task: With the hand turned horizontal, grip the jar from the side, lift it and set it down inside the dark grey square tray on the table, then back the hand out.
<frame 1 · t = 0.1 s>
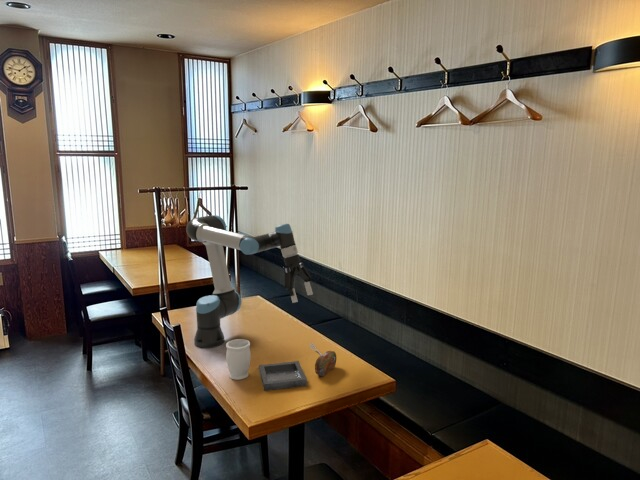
hand: (303, 298, 220), 28 cm above the table, tool tilted 20°, fingers open, 13 cm apart
jar: (239, 376, 201), on the table
tin: (325, 372, 206), on the table
fork: (320, 355, 223), on the table
dark grey square tray: (282, 378, 199), on the table
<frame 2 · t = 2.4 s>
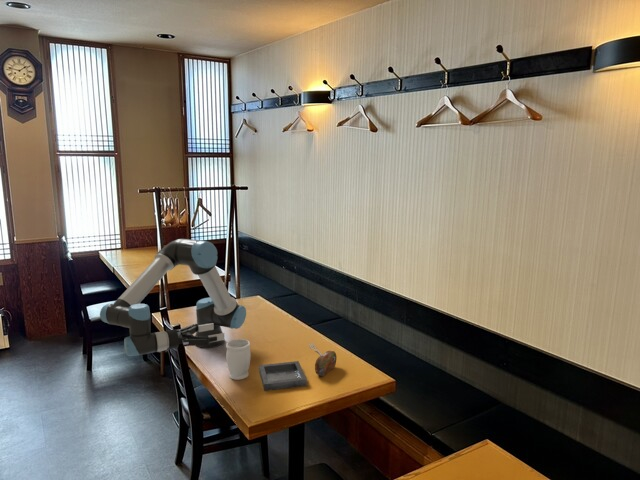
hand: (218, 331, 193), 22 cm above the table, tool horizontal, fingers open, 13 cm apart
nothing on the table moved.
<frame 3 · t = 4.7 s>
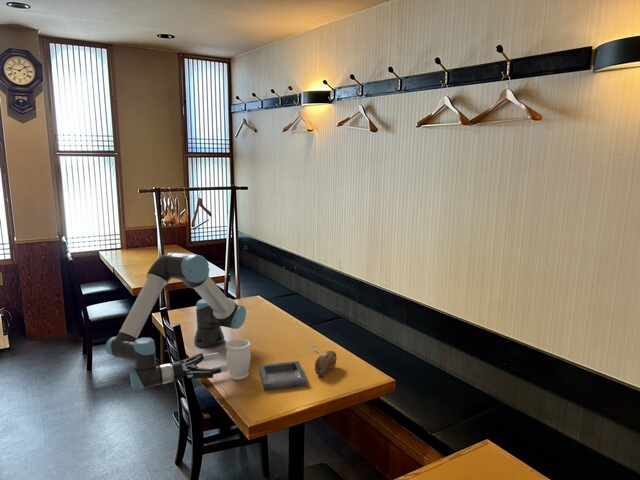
hand: (223, 361, 196), 8 cm above the table, tool horizontal, fingers open, 13 cm apart
nothing on the table moved.
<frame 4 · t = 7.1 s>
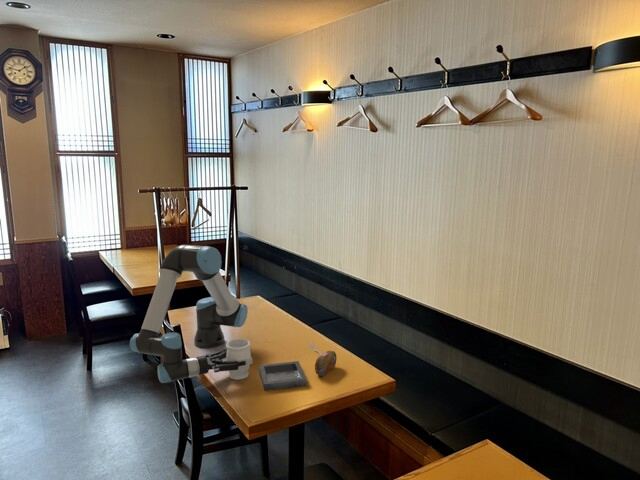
hand: (247, 355, 202), 9 cm above the table, tool horizontal, fingers closed on jar, 10 cm apart
jar: (239, 376, 201), on the table, touching gripper
everything else where it was.
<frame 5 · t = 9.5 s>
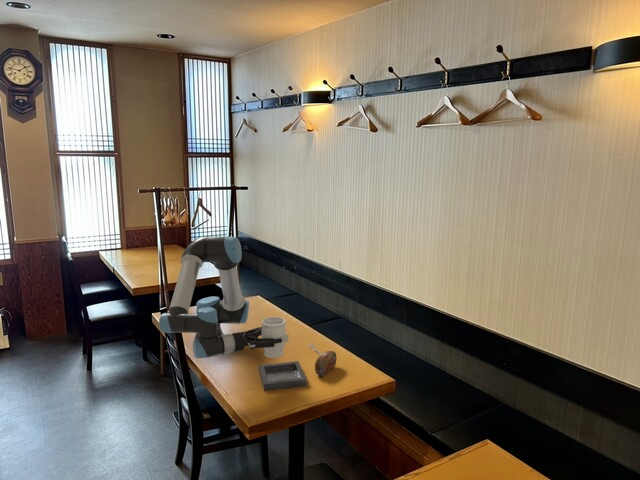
hand: (282, 333, 196), 20 cm above the table, tool horizontal, fingers closed on jar, 10 cm apart
jar: (273, 354, 196), point 11 cm above the table, touching gripper
everything else where it was.
when the fingers open (11 cm above the table, at t = 12.1 s): jar drops 1 cm, resting on dark grey square tray.
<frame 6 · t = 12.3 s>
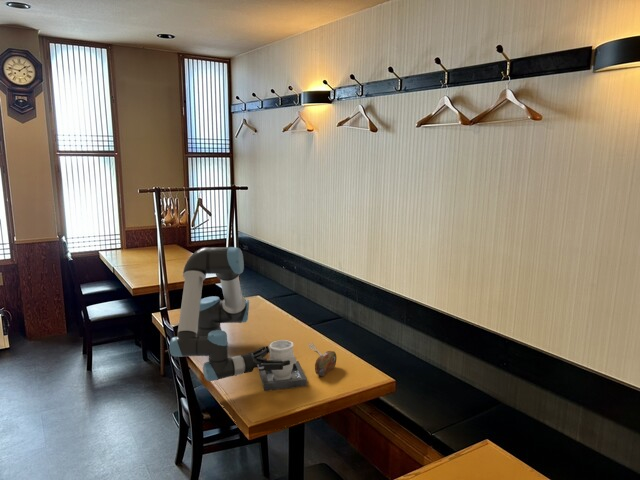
hand: (289, 353, 199), 11 cm above the table, tool horizontal, fingers open, 13 cm apart
jar: (282, 377, 198), resting on dark grey square tray
everything else where it was.
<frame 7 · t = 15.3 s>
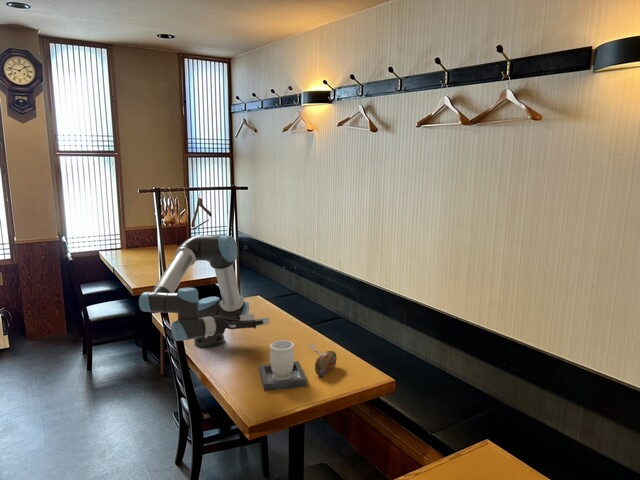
hand: (261, 318, 192), 28 cm above the table, tool horizontal, fingers open, 13 cm apart
nothing on the table moved.
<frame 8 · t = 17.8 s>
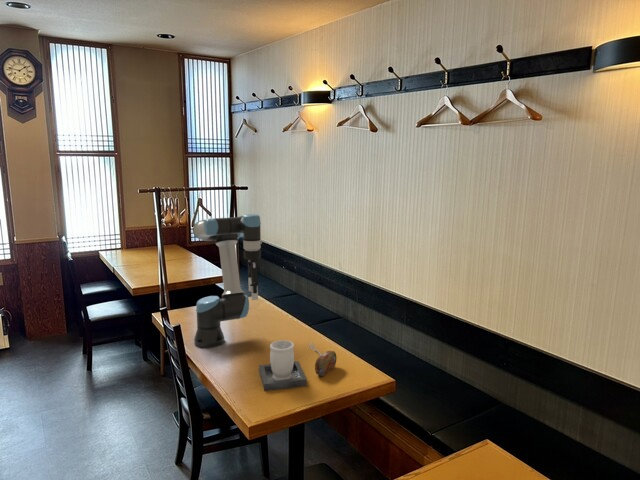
hand: (253, 295, 208), 33 cm above the table, tool pointing down, fingers open, 13 cm apart
nothing on the table moved.
at the end: jar inside the target area on the dark grey square tray (0.2 cm from its centre), point 0.4 cm above the dark grey square tray's base; jar tilted 0°; the gripper is holding nothing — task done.
